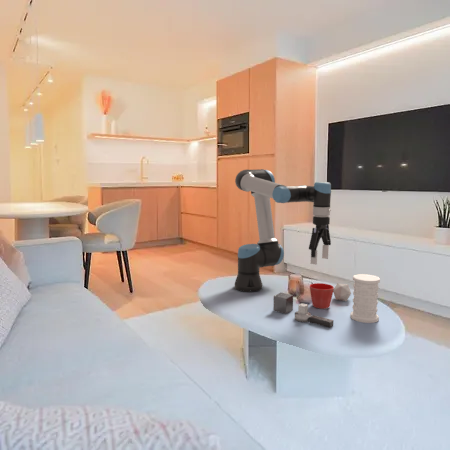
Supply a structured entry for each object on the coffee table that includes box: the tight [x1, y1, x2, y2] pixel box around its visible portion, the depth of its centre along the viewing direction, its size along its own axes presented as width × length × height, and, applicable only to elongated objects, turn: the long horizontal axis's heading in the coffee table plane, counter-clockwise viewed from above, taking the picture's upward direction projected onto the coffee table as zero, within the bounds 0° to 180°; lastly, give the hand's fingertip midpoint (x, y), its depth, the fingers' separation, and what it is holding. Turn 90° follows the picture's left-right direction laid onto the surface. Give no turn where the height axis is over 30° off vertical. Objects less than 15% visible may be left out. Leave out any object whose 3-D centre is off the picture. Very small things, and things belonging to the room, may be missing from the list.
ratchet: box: [294, 302, 334, 329], centre depth 162 cm, size 16×7×6 cm, turn 51°
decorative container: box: [349, 273, 381, 324], centre depth 166 cm, size 12×12×18 cm
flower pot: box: [309, 282, 335, 310], centre depth 181 cm, size 11×11×10 cm
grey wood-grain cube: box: [272, 292, 294, 315], centre depth 176 cm, size 6×6×7 cm
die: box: [333, 282, 352, 302], centre depth 190 cm, size 8×9×10 cm
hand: (319, 261), depth 181 cm, fingers open, 13 cm apart
